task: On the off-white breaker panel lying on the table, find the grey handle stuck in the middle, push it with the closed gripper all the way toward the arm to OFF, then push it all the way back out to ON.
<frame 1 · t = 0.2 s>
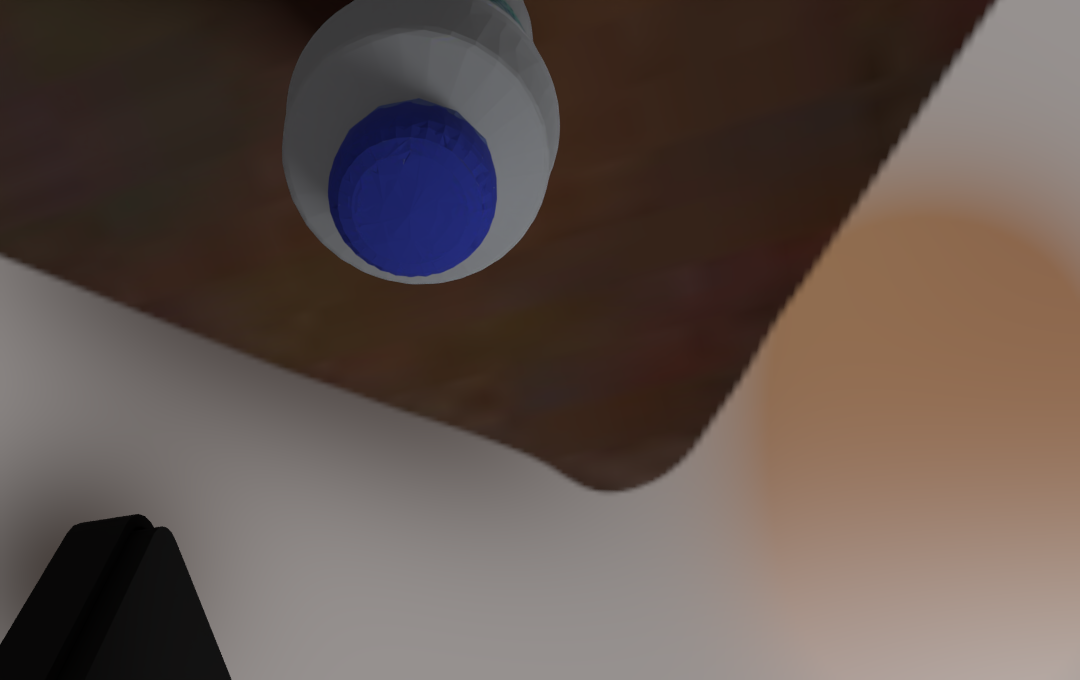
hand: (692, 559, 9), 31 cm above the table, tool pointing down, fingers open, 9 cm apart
bottle: (444, 29, 37), on the table
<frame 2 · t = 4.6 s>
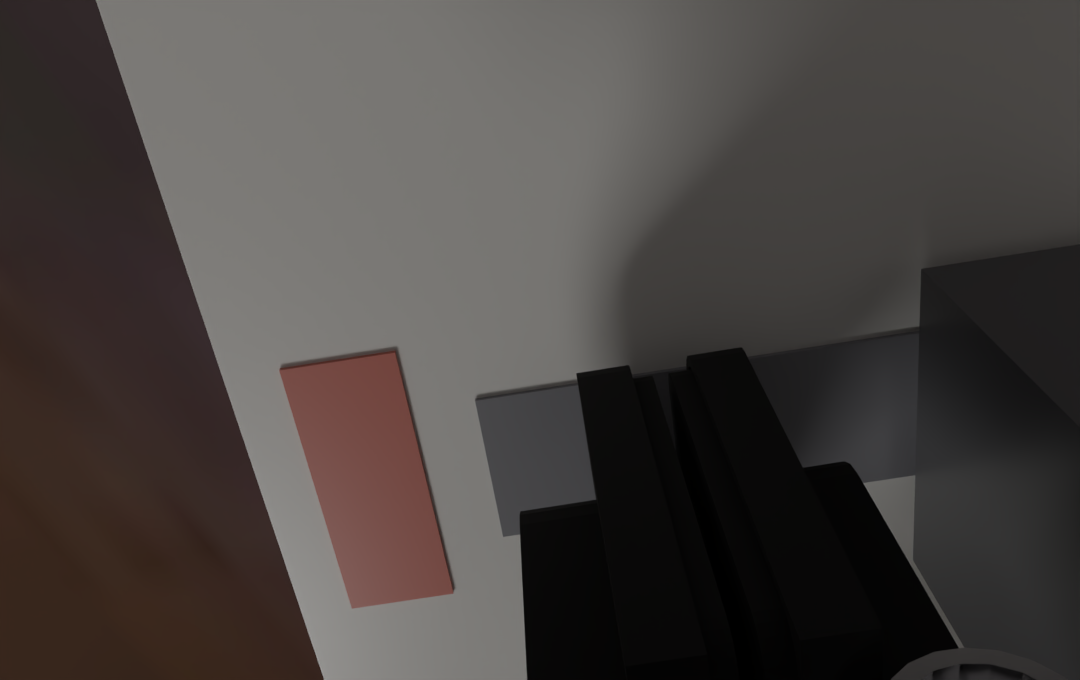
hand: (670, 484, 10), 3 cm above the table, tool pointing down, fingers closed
breaker panel: (906, 297, 13), on the table
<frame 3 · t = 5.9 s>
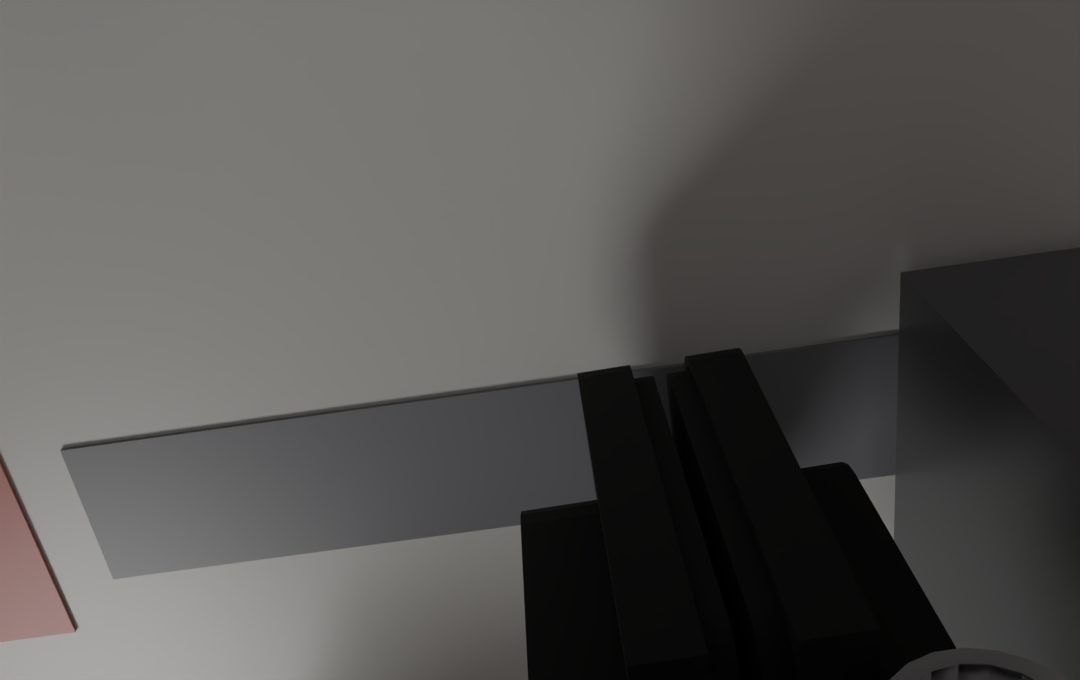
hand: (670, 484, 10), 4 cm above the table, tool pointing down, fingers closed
breaker panel: (556, 349, 14), on the table
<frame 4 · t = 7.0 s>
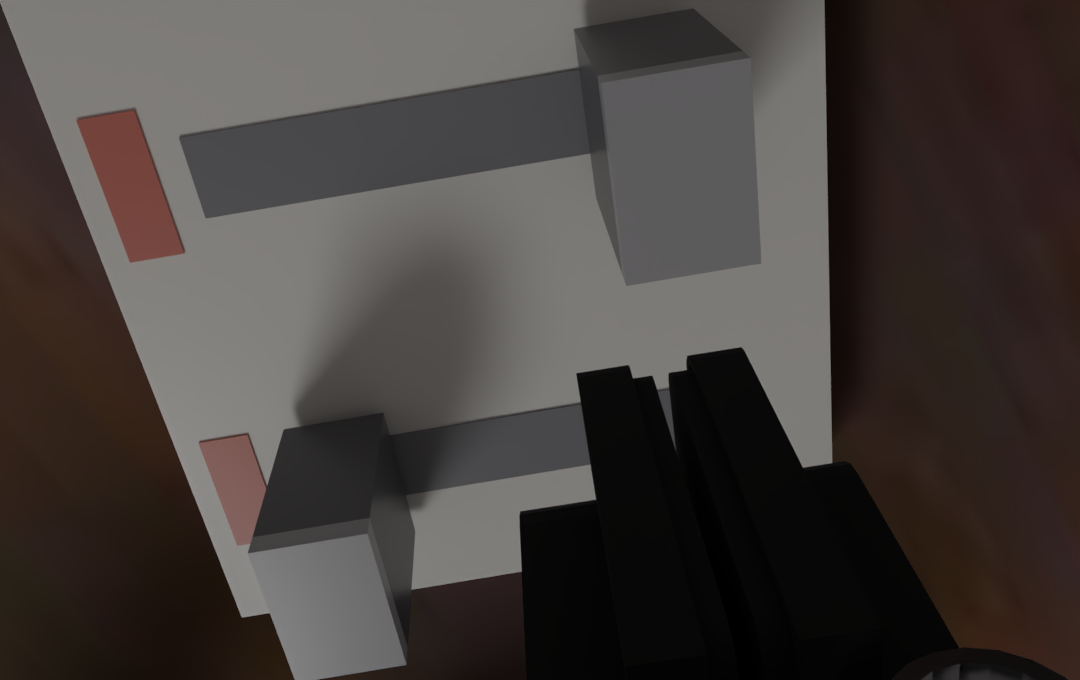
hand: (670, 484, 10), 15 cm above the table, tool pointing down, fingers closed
breaker 2: (341, 541, 23), point 5 cm above the table, slide at 8.0 cm
tripped breaker: (661, 138, 19), point 5 cm above the table, slide at -0.1 cm
breaker panel: (450, 104, 23), on the table
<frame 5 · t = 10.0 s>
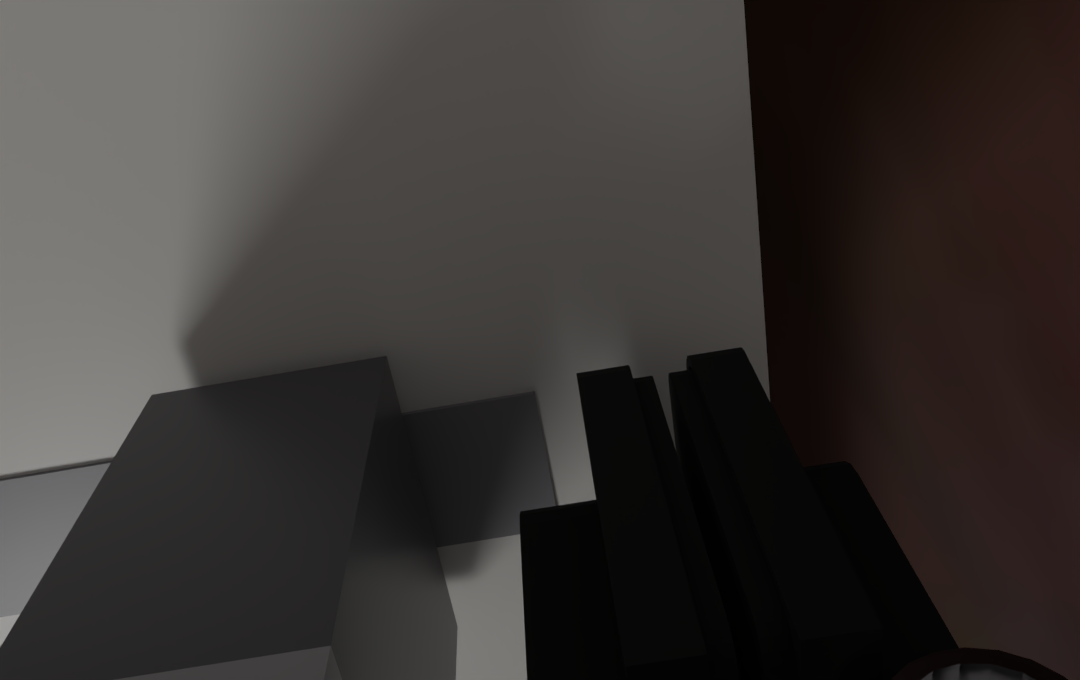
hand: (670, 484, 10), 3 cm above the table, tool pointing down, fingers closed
tripped breaker: (276, 674, 9), point 5 cm above the table, slide at 1.1 cm, touching gripper
breaker panel: (134, 422, 14), on the table
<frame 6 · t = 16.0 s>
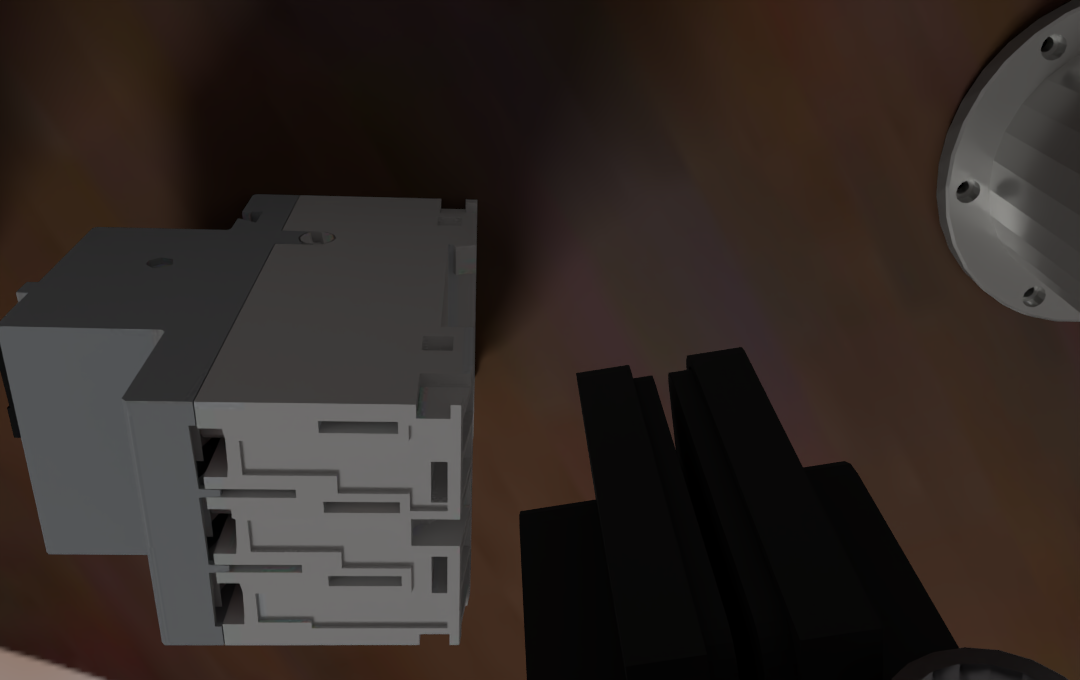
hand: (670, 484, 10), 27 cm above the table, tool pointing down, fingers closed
circuit breaker: (290, 286, 39), on the table
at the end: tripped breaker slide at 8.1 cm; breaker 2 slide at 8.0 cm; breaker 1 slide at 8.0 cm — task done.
